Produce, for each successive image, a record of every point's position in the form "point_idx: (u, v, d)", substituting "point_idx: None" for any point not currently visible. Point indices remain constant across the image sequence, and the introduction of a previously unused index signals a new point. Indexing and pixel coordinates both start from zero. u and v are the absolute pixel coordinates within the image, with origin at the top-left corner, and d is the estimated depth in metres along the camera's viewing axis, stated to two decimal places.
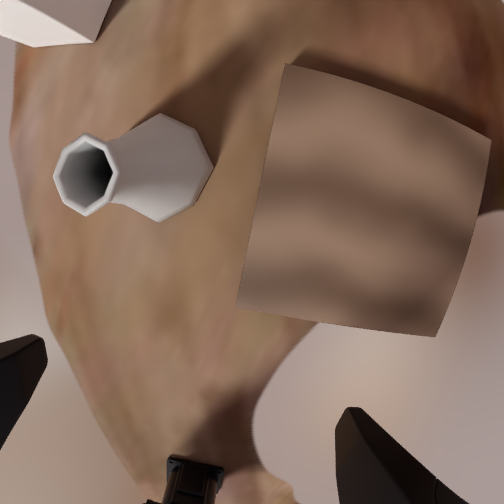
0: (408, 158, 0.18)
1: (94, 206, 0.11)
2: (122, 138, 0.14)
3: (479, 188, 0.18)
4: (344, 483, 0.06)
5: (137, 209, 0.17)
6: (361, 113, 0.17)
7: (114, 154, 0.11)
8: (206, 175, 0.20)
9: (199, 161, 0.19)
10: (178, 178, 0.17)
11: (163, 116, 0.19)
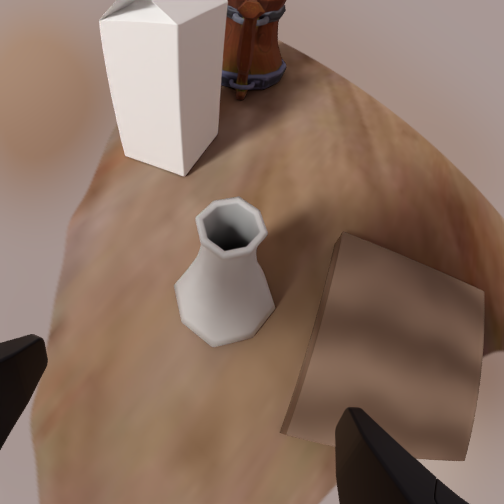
0: (429, 307, 0.22)
1: (236, 251, 0.14)
2: (235, 235, 0.18)
3: (481, 328, 0.22)
4: (344, 483, 0.06)
5: (219, 309, 0.18)
6: (395, 273, 0.23)
7: None
8: (269, 313, 0.22)
9: (270, 294, 0.22)
10: (258, 297, 0.20)
11: None
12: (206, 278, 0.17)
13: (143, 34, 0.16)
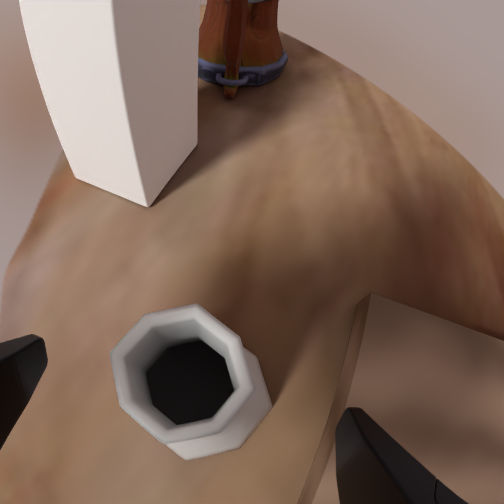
0: (474, 387, 0.14)
1: (189, 433, 0.06)
2: None
3: None
4: (344, 483, 0.06)
5: (186, 442, 0.10)
6: (437, 348, 0.15)
7: (245, 357, 0.07)
8: (263, 415, 0.14)
9: (265, 396, 0.14)
10: (247, 414, 0.12)
11: None
12: None
13: (67, 5, 0.08)
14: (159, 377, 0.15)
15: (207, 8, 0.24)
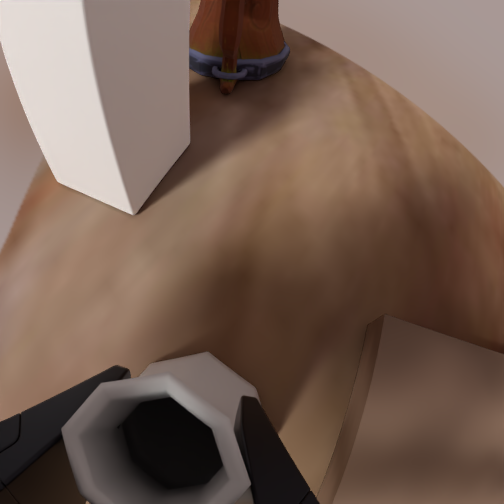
0: (489, 412, 0.12)
1: None
2: None
3: None
4: None
5: None
6: (454, 373, 0.13)
7: None
8: None
9: None
10: None
11: (213, 358, 0.14)
12: (137, 470, 0.07)
13: None
14: (146, 409, 0.13)
15: None
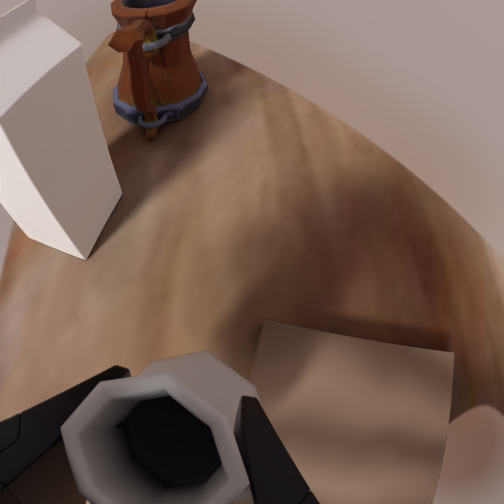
0: (379, 395, 0.19)
1: None
2: (189, 387, 0.08)
3: (447, 400, 0.18)
4: None
5: None
6: (334, 362, 0.19)
7: (235, 441, 0.05)
8: None
9: None
10: None
11: (212, 357, 0.14)
12: (137, 468, 0.07)
13: None
14: (146, 407, 0.13)
15: (123, 53, 0.26)
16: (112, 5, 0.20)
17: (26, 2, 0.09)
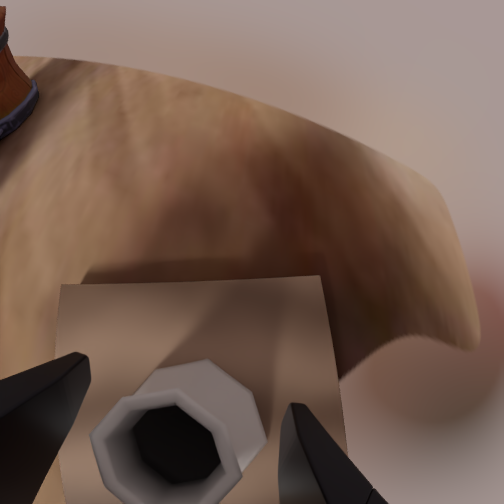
0: (205, 348, 0.16)
1: None
2: (193, 396, 0.09)
3: (324, 339, 0.17)
4: (283, 482, 0.06)
5: None
6: (137, 316, 0.16)
7: (231, 443, 0.06)
8: (258, 451, 0.13)
9: (259, 435, 0.13)
10: (240, 458, 0.11)
11: (213, 365, 0.15)
12: (147, 467, 0.08)
13: None
14: (151, 411, 0.14)
15: None
16: None
17: None
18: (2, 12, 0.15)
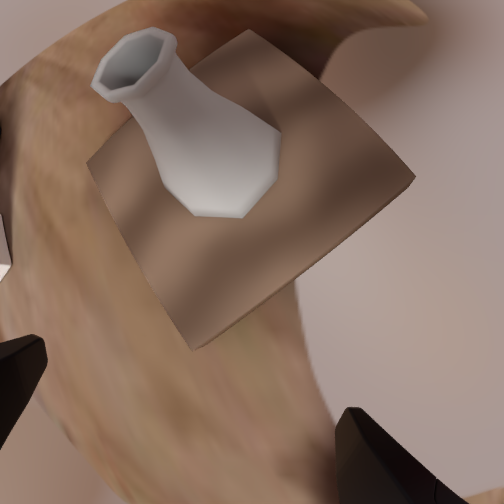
0: None
1: (146, 73, 0.08)
2: None
3: (278, 55, 0.18)
4: (344, 483, 0.06)
5: (208, 166, 0.13)
6: None
7: None
8: (277, 142, 0.17)
9: (262, 121, 0.16)
10: (246, 127, 0.14)
11: None
12: (164, 142, 0.12)
13: None
14: None
15: None
16: None
17: None
18: None
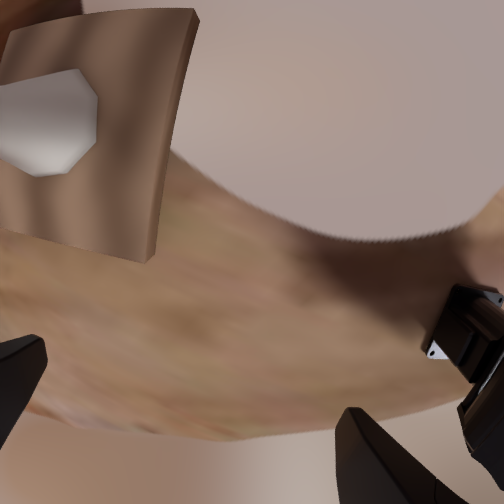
0: None
1: None
2: None
3: (41, 27, 0.14)
4: (344, 483, 0.06)
5: (38, 128, 0.12)
6: None
7: None
8: (79, 75, 0.15)
9: None
10: (45, 84, 0.12)
11: None
12: None
13: None
14: None
15: None
16: None
17: None
18: None
